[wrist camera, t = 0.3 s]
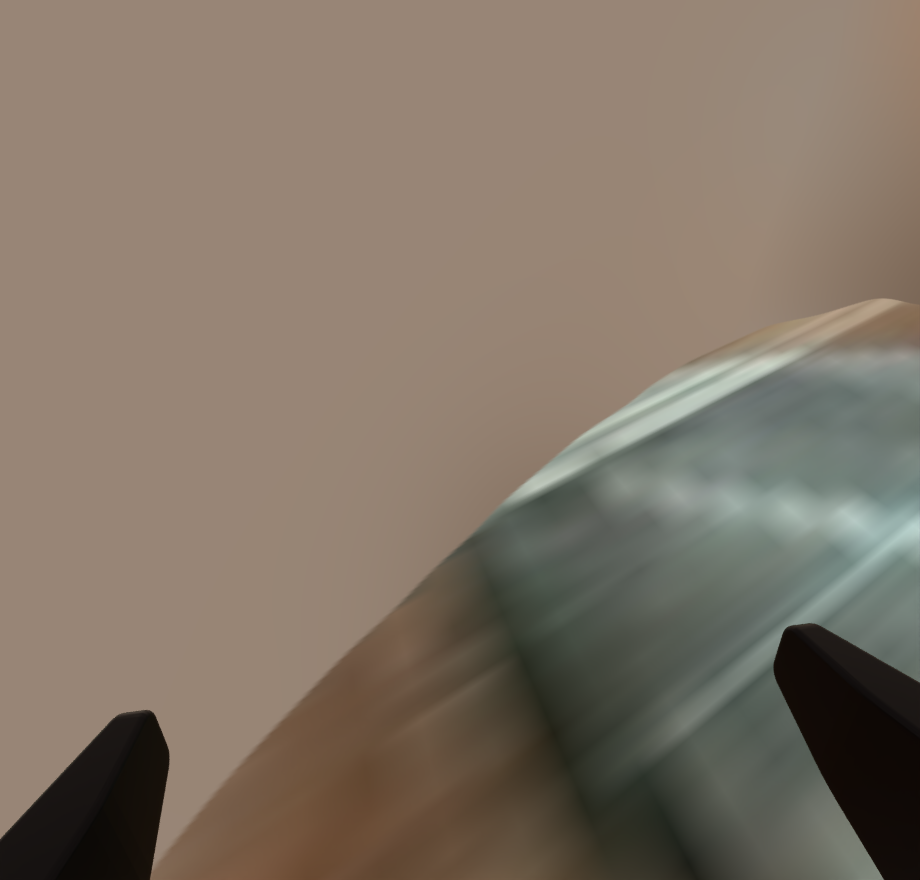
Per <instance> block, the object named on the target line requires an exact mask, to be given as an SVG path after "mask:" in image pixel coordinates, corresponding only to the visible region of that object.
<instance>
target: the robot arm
mask: <svg viewBox="0 0 920 880" xmlns="http://www.w3.org/2000/svg"><path fill="white" fill-rule="evenodd" d="M774 675H775V679H776V681H777V684H778V686H779V688H780V690H781V692H782V694H783V696H784V698H785V700H786V702H787V704H788V706H789V708H790V710H791V713H792V715H793V717H794V719H795V721H796V723H797V725H798V727H799V729H800V731H801V733H802V735H803V737H804V739H805V741H806V743H807V745H808V748H809V750H810V752H811V754H812V756H813V758H814V760H815V762H816V764H817V766H818V768H819V770H820V772H821V774H822V776H823V778H824V780H825V781H826V783H827V785H828V787H829V789H830V790H831V792H832V794H833V795H834V797H835V799H836V801H837V802H838V804H839V806H840V807H841V809H842V811H843V812H844V814H845V816H846V817H847V819H848V821H849V822H850V824H851V826H852V827H853V829H854V831H855V832H856V834H857V836H858V837H859V839H860V841H861V842H862V844H863V846H864V847H865V849H866V851H867V852H868V854H869V855H870V857H871V859H872V860H873V862H874V864H875V865H876V867H877V869H878V870H879V872H880V874H881V875H882V877H883V879H884V880H920V683H919V682H918V681H916V680H914V679H912V678H911V677H909V676H907V675H905V674H904V673H902V672H900V671H898V670H897V669H895V668H893V667H891V666H890V665H888V664H886V663H884V662H883V661H881V660H879V659H877V658H876V657H874V656H872V655H870V654H869V653H867V652H865V651H863V650H862V649H860V648H858V647H856V646H855V645H853V644H851V643H849V642H848V641H846V640H844V639H842V638H841V637H839V636H837V635H835V634H834V633H832V632H830V631H828V630H827V629H825V628H823V627H821V626H819V625H817V624H813V623H807V624H800V625H792V626H789V627H787V628H786V629H785V630H784V632H783V634H782V638H781V641H780V644H779V647H778V651H777V654H776V657H775V660H774ZM168 770H169V749H168V746H167V744H166V741H165V739H164V736H163V733H162V731H161V728H160V726H159V724H158V721H157V719H156V716H155V715H154V713H153V712H151V711H150V710H142V711H135V712H127V713H122V714H119V715H118V716H116V717H115V718H113V719H112V720H111V721H110V722H109V723H108V725H107V726H106V727H105V728H104V729H103V730H102V731H101V732H100V733H99V734H98V735H97V736H96V737H95V739H93V741H92V742H91V743H90V744H89V745H88V746H87V747H86V748H85V749H84V750H83V751H82V752H81V753H80V754H79V756H78V757H77V758H76V759H75V760H74V761H73V762H72V763H71V764H70V765H69V766H68V767H67V768H66V770H64V772H63V773H62V774H61V775H60V776H59V777H58V778H57V779H56V780H55V781H54V782H53V783H52V784H51V785H50V787H49V788H48V789H47V790H46V791H45V792H44V793H43V794H42V795H41V796H40V797H39V798H38V799H37V800H36V802H34V804H33V805H32V806H31V807H30V808H29V809H28V810H27V811H26V812H25V813H24V814H23V815H22V816H21V817H20V818H19V820H18V821H17V822H16V823H15V824H14V825H13V826H12V827H11V828H10V829H9V830H8V831H7V832H6V833H5V835H4V836H3V837H2V838H1V839H0V880H150V876H151V871H152V865H153V859H154V853H155V847H156V840H157V835H158V829H159V823H160V817H161V811H162V805H163V799H164V793H165V787H166V781H167V776H168Z"/></svg>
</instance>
